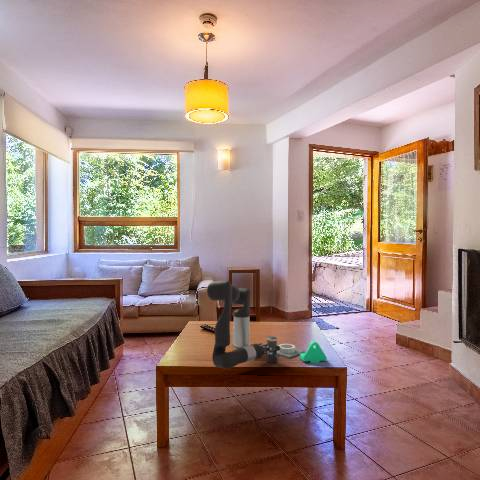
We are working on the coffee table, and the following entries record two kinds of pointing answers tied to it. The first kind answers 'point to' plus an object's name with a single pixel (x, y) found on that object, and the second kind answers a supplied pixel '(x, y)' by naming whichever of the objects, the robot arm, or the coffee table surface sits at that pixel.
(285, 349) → the mount plate
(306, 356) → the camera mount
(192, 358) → the coffee table surface
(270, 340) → the lens
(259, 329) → the coffee table surface
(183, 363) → the coffee table surface
